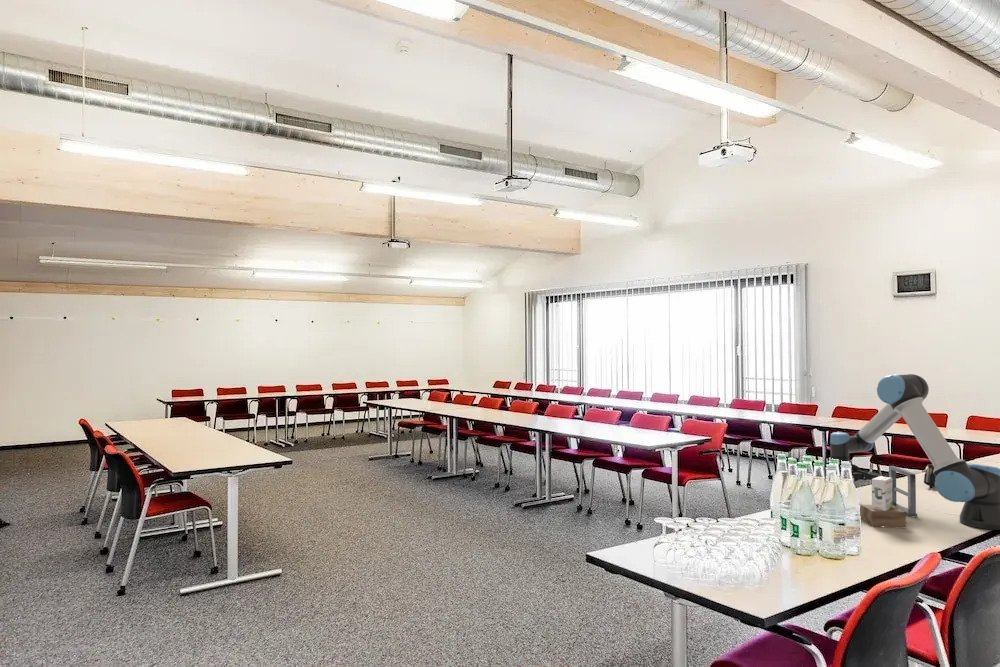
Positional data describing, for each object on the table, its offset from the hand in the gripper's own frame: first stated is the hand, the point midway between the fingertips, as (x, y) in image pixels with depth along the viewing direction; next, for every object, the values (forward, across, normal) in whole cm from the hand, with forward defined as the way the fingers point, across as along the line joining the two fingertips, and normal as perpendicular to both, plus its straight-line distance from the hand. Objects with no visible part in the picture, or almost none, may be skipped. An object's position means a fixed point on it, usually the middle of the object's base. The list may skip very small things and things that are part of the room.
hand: (871, 482), depth 258 cm
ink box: (+10, 0, -8) cm, 13 cm away
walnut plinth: (+10, 0, -14) cm, 17 cm away
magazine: (-66, -61, -14) cm, 91 cm away
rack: (-11, -17, -14) cm, 25 cm away
